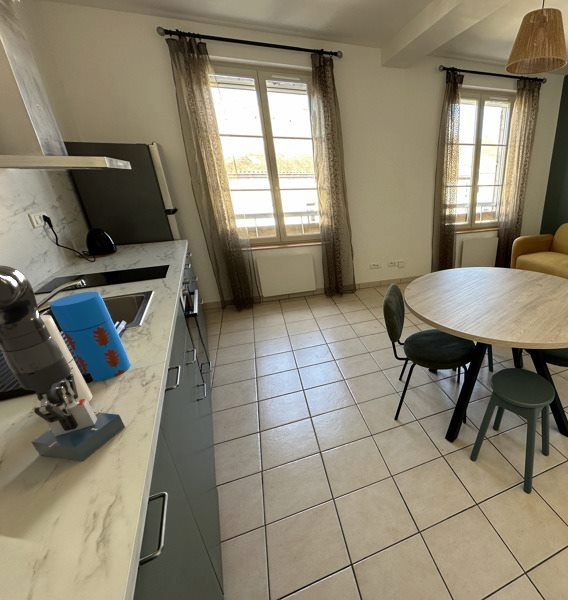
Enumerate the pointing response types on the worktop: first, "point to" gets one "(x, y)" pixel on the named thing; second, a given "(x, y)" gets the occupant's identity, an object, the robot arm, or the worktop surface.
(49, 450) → the block
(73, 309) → the thermos
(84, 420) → the tap handle
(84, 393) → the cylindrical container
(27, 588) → the worktop surface
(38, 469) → the worktop surface
